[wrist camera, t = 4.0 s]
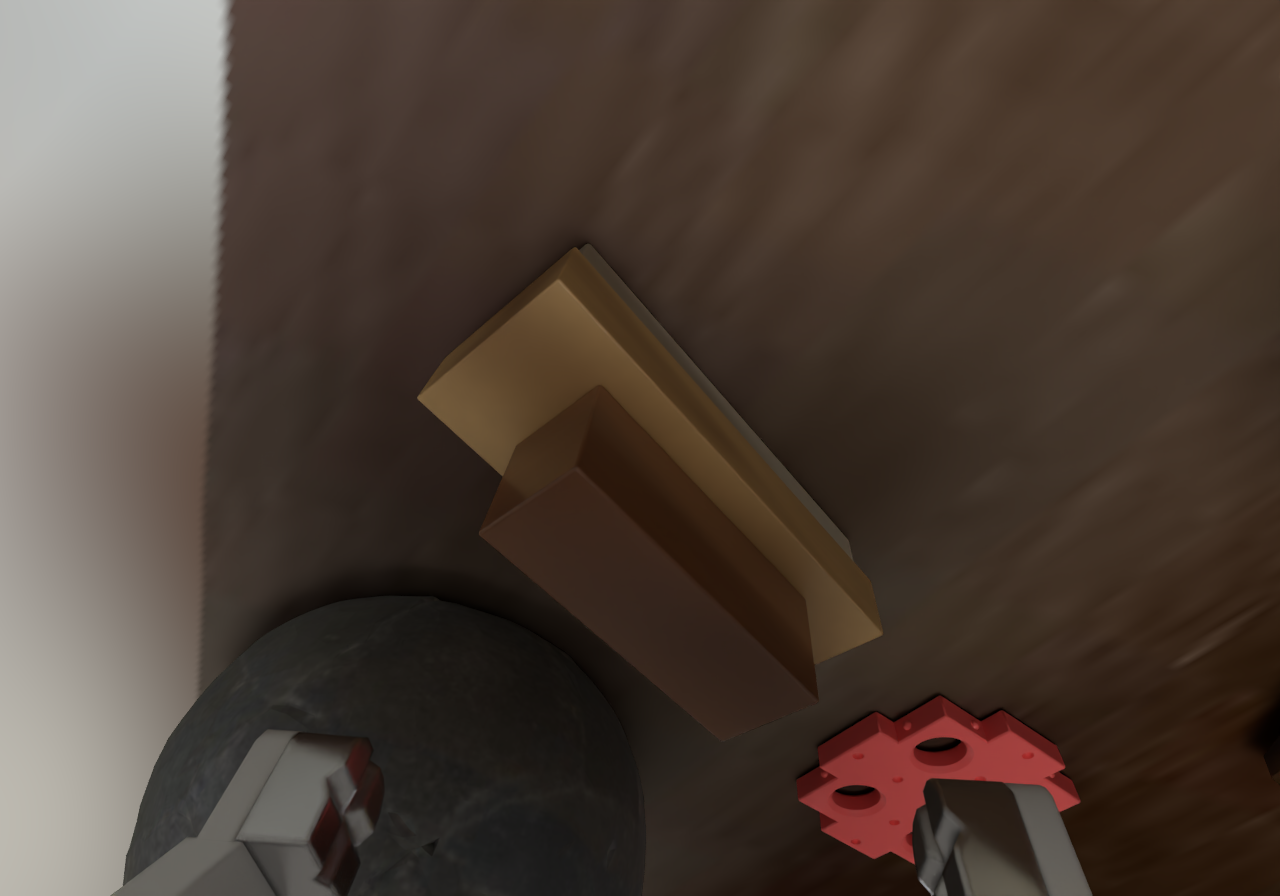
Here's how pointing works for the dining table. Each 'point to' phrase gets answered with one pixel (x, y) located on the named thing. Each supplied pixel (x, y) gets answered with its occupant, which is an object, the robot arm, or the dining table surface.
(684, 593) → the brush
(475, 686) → the dark grey river rock
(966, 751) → the building block
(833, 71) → the dining table surface
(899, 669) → the dining table surface
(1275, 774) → the croissant
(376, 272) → the dining table surface
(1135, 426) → the dining table surface
